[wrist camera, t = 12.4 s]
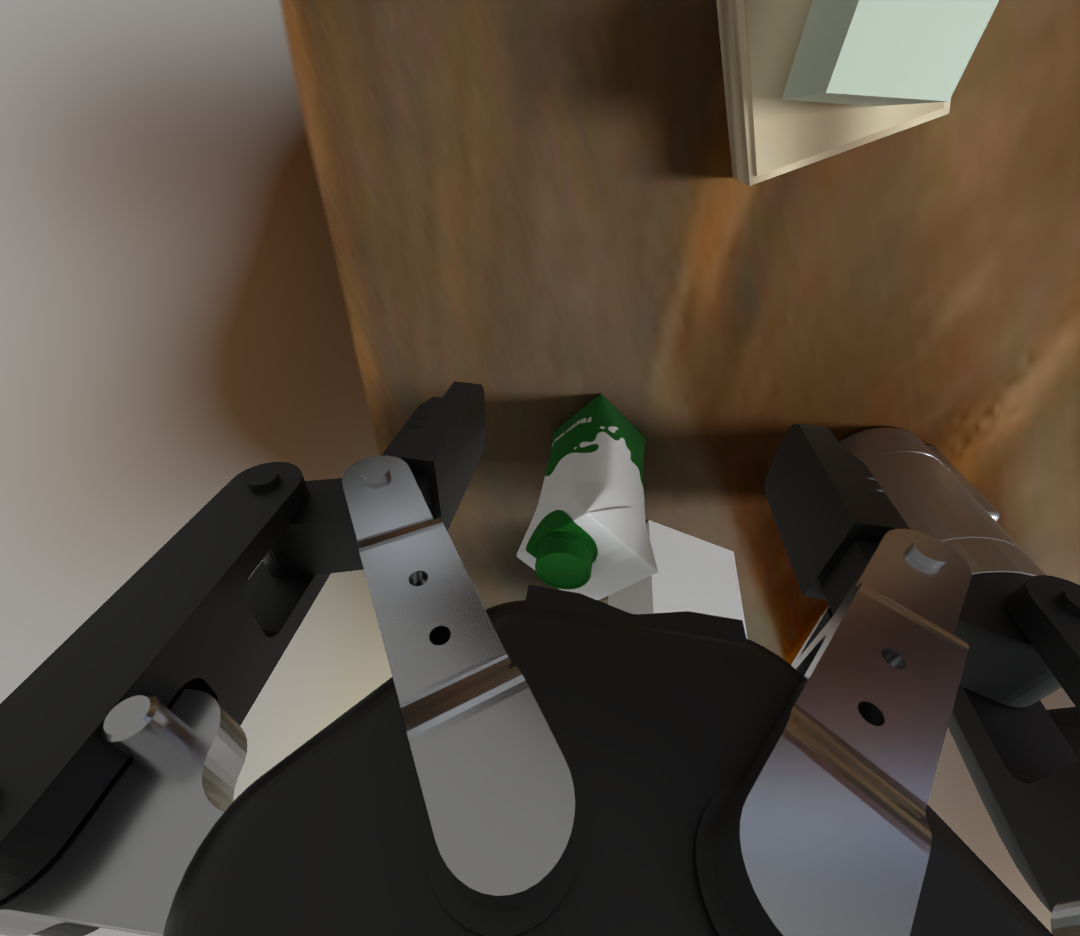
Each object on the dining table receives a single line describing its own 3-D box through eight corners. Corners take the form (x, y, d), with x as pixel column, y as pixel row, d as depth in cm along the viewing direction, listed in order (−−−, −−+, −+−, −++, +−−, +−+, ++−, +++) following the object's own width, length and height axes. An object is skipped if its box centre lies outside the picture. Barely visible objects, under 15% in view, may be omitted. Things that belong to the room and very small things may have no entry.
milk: (682, 601, 62) (708, 833, 41) (607, 575, 61) (596, 798, 40) (733, 551, 54) (795, 804, 34) (648, 520, 53) (660, 761, 33)
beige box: (914, -112, 23) (990, -176, 18) (896, 116, 28) (951, 113, 24) (714, -9, 26) (734, -41, 21) (732, 177, 32) (750, 186, 27)
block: (932, -31, 21) (1041, -85, 15) (875, 106, 24) (948, 101, 18) (823, -36, 21) (891, -90, 16) (781, 99, 24) (826, 92, 19)
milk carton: (601, 381, 43) (585, 525, 27) (659, 439, 46) (674, 598, 30) (541, 430, 48) (498, 577, 32) (597, 480, 51) (583, 636, 35)
